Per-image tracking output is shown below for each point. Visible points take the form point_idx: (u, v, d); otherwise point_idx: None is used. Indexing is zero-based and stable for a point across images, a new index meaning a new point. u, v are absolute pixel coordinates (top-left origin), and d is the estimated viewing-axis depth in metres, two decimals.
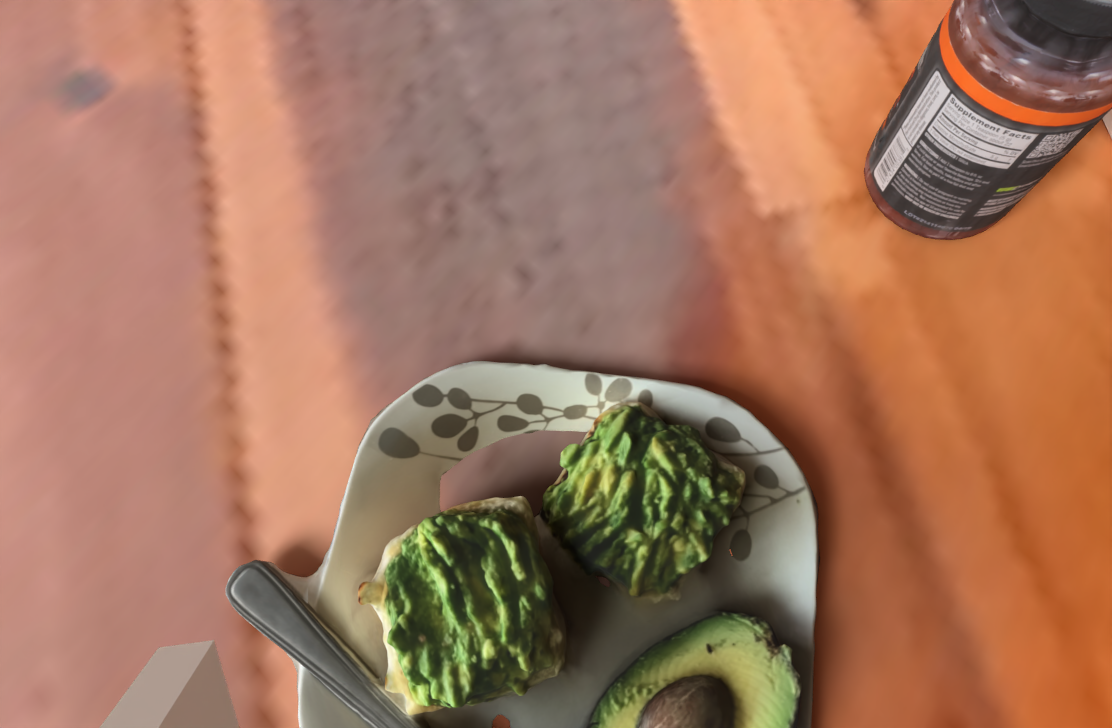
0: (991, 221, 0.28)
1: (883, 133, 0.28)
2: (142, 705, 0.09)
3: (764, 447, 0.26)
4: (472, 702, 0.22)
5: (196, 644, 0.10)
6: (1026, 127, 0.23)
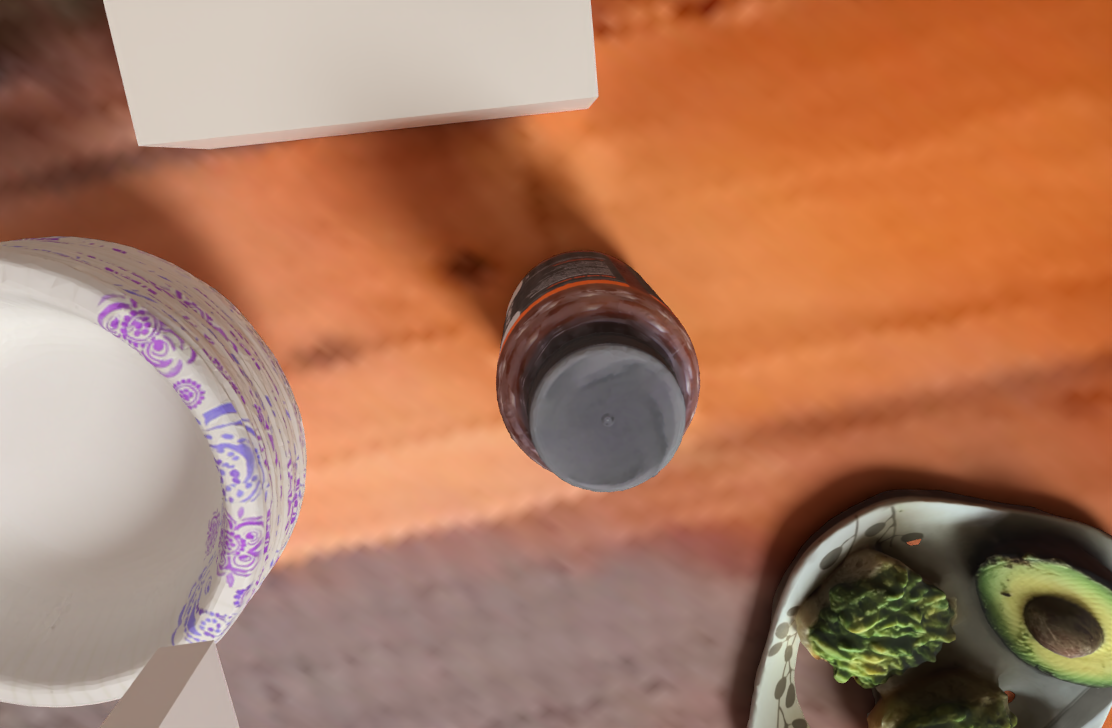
0: None
1: None
2: (142, 705, 0.09)
3: (852, 531, 0.30)
4: None
5: (196, 644, 0.10)
6: None
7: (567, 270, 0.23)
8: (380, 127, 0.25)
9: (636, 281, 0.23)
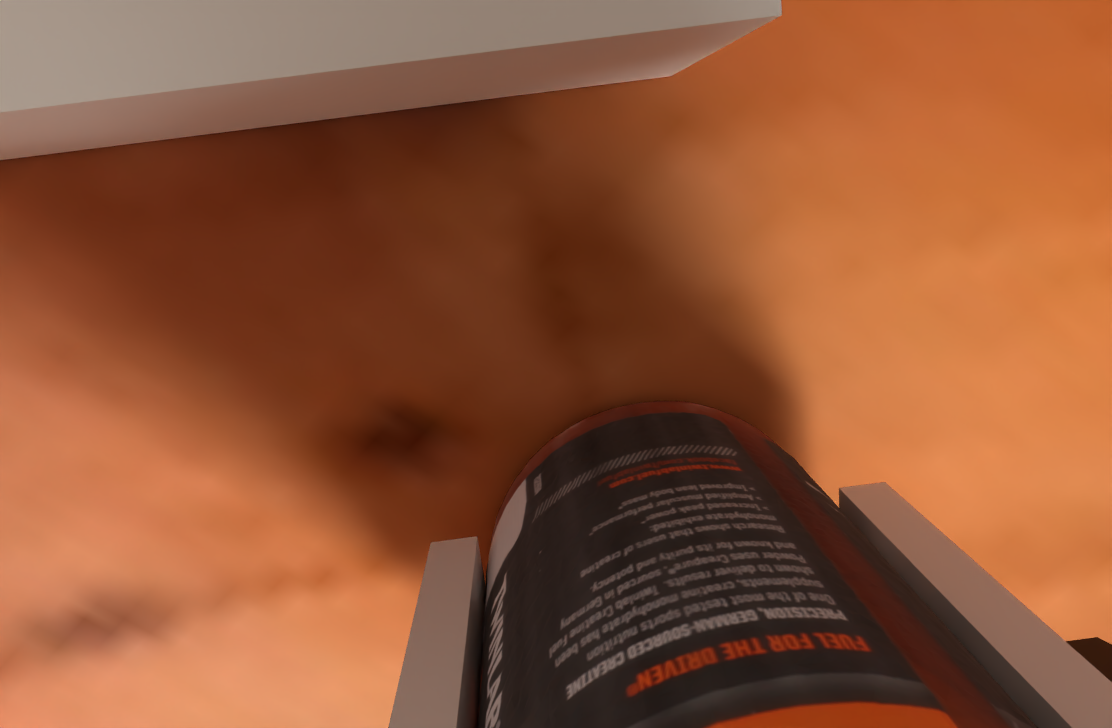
0: None
1: None
2: (446, 579, 0.11)
3: None
4: None
5: (463, 539, 0.12)
6: None
7: (668, 549, 0.08)
8: (144, 130, 0.10)
9: (887, 592, 0.07)
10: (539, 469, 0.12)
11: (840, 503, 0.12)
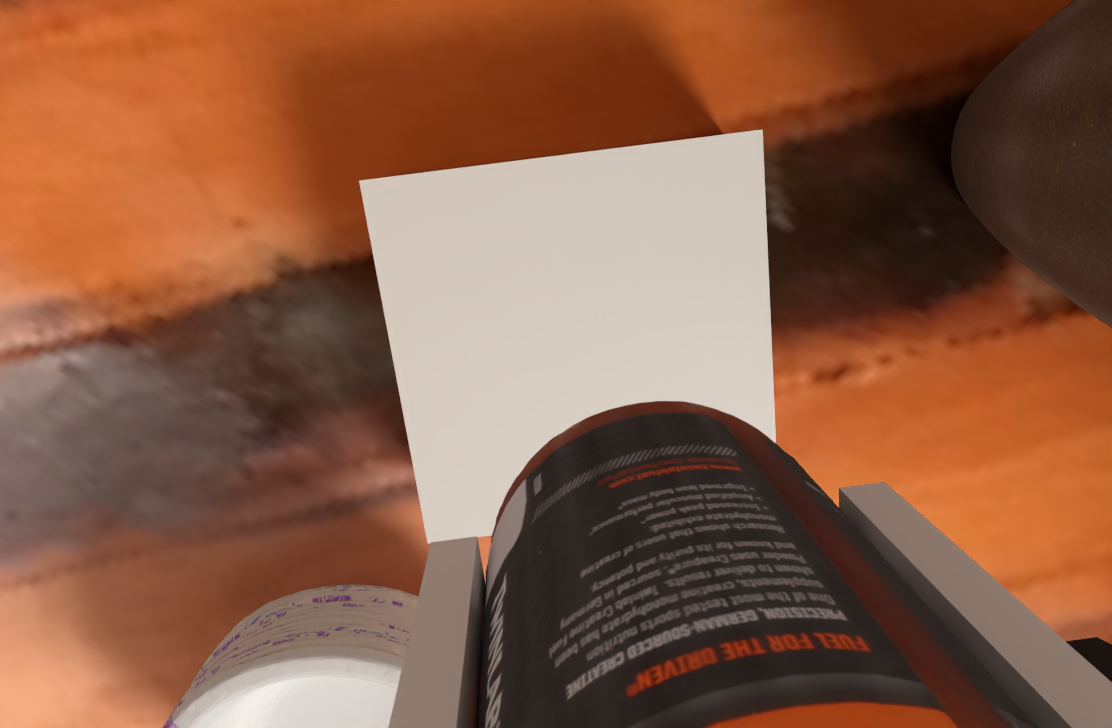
0: None
1: None
2: (446, 579, 0.11)
3: None
4: None
5: (463, 539, 0.12)
6: None
7: (668, 549, 0.08)
8: None
9: (886, 592, 0.07)
10: (539, 469, 0.12)
11: (840, 503, 0.12)
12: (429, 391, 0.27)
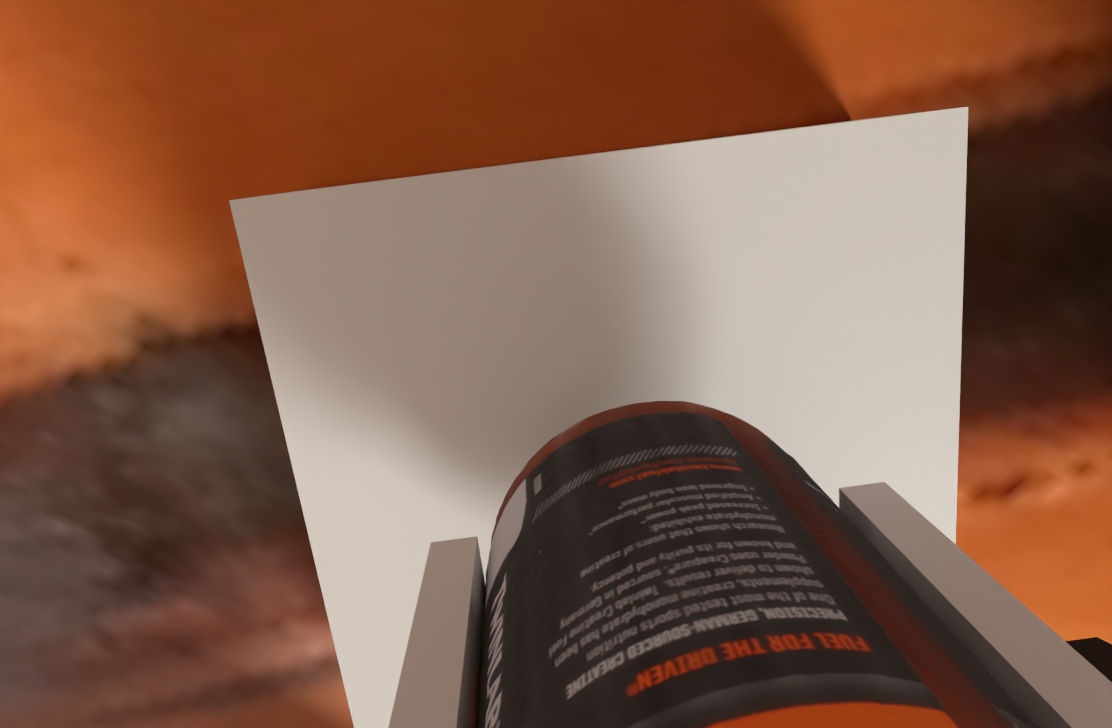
0: None
1: None
2: (446, 579, 0.11)
3: None
4: None
5: (463, 539, 0.12)
6: None
7: (667, 549, 0.08)
8: None
9: (887, 592, 0.07)
10: (539, 469, 0.12)
11: (840, 503, 0.12)
12: (367, 560, 0.16)
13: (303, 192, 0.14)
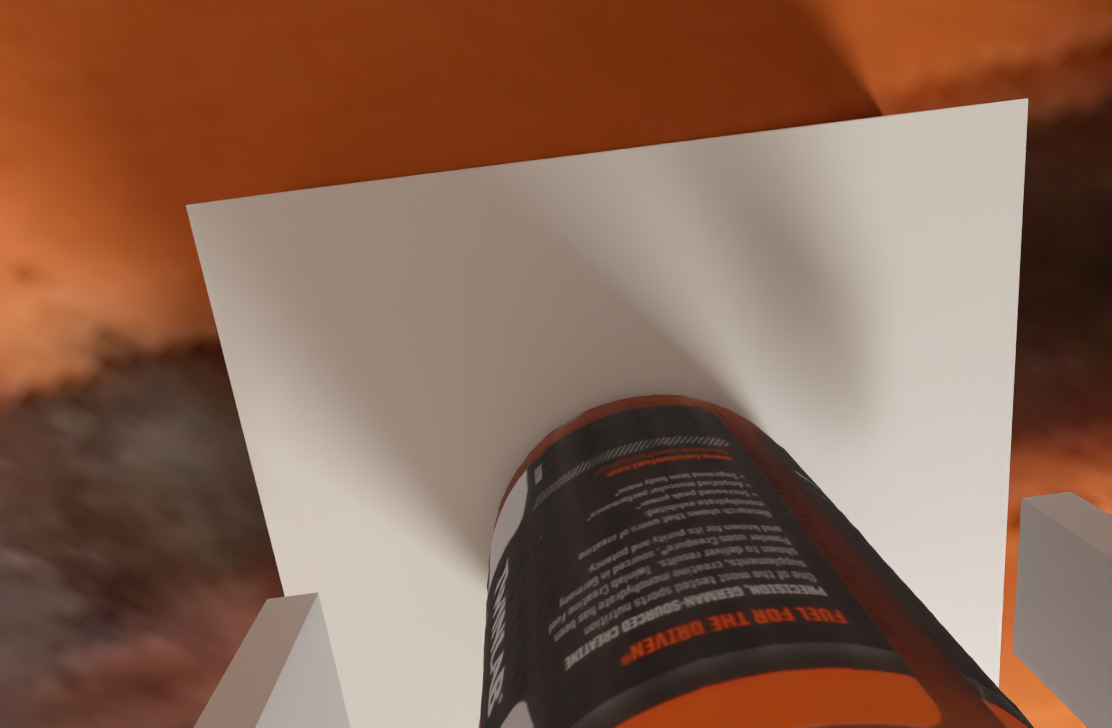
0: None
1: None
2: (265, 646, 0.10)
3: None
4: None
5: (302, 596, 0.11)
6: None
7: (661, 533, 0.08)
8: None
9: (867, 572, 0.08)
10: (539, 460, 0.12)
11: (1022, 514, 0.11)
12: (347, 608, 0.14)
13: (270, 196, 0.12)
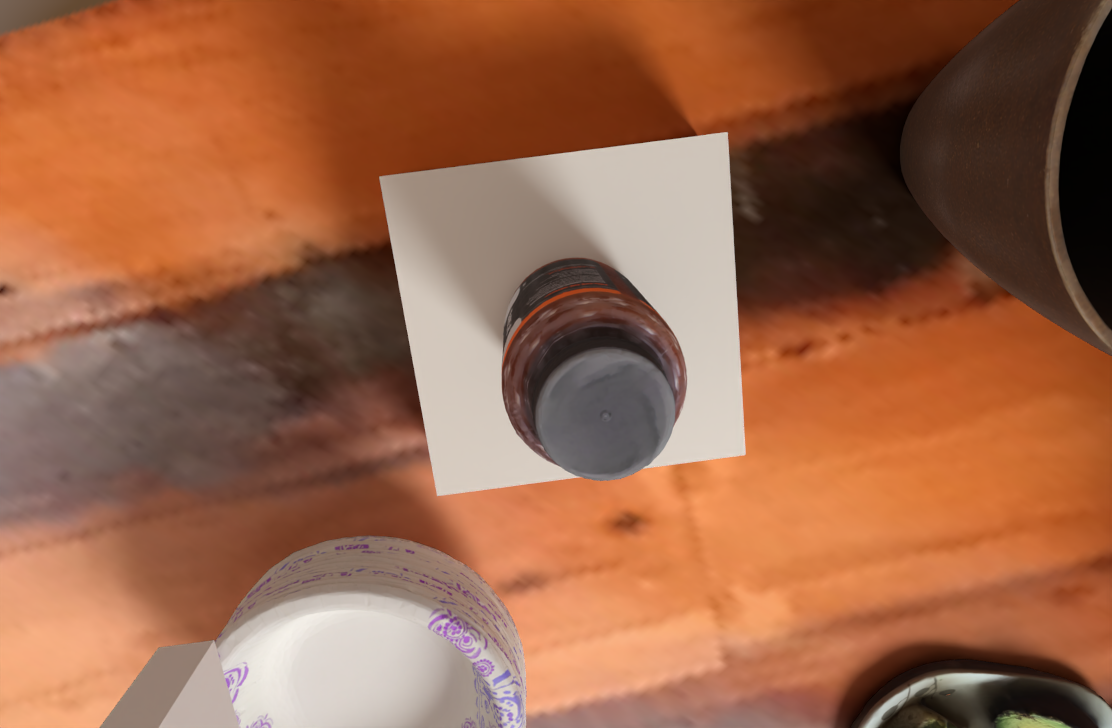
0: None
1: None
2: (143, 705, 0.09)
3: (905, 694, 0.42)
4: None
5: (196, 644, 0.10)
6: None
7: (562, 278, 0.26)
8: None
9: (626, 287, 0.25)
10: (525, 281, 0.29)
11: None
12: (439, 360, 0.31)
13: (413, 172, 0.29)
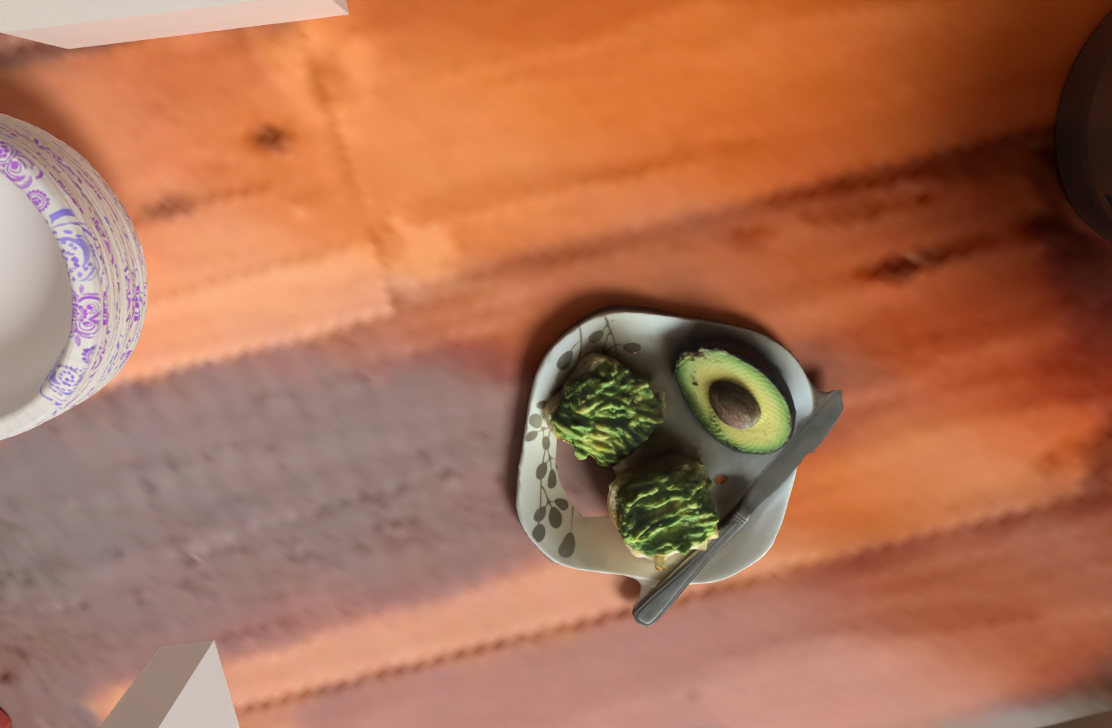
0: None
1: None
2: (143, 706, 0.09)
3: (577, 337, 0.40)
4: (715, 508, 0.42)
5: (196, 644, 0.10)
6: None
7: None
8: (188, 26, 0.35)
9: None
10: None
11: None
12: None
13: None
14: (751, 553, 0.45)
